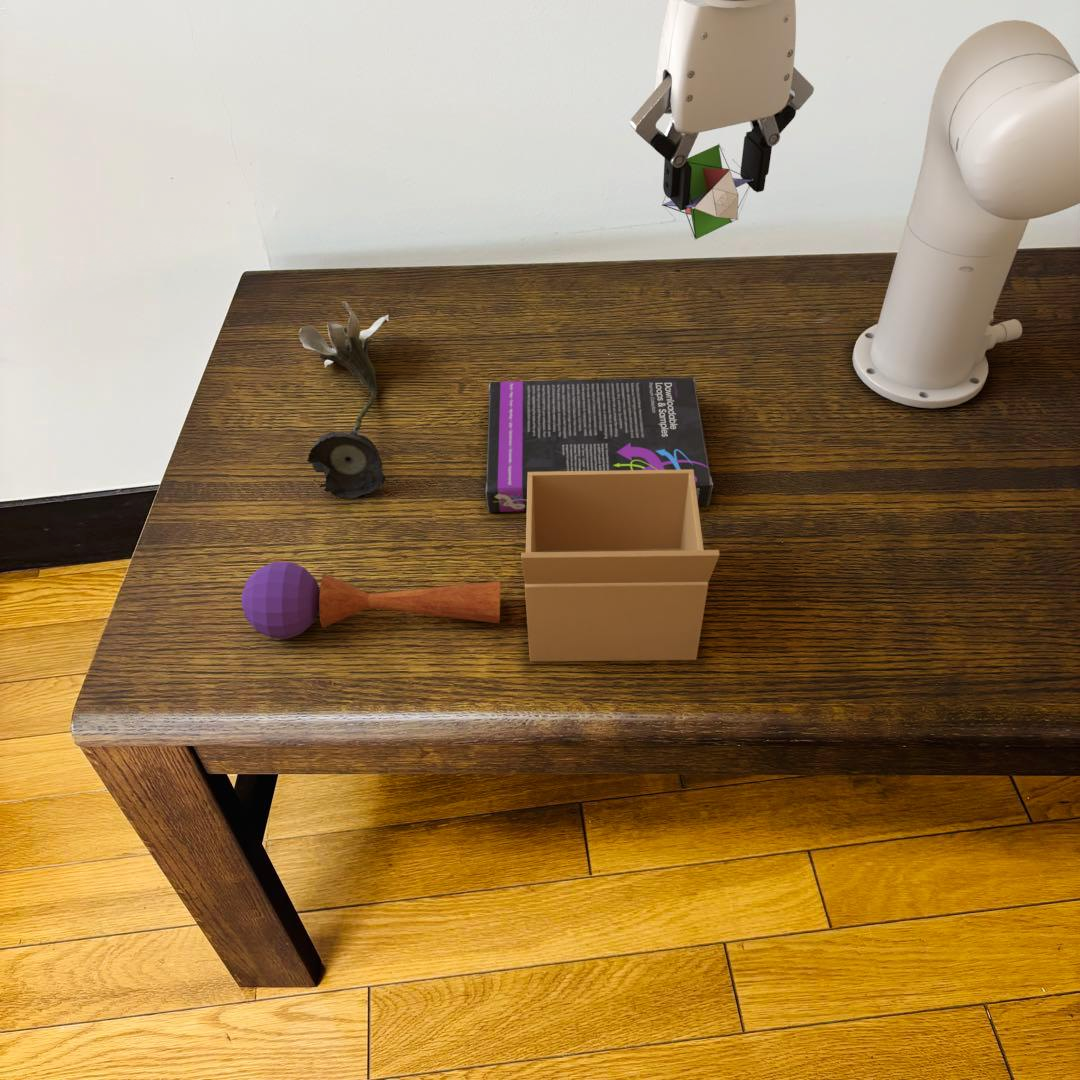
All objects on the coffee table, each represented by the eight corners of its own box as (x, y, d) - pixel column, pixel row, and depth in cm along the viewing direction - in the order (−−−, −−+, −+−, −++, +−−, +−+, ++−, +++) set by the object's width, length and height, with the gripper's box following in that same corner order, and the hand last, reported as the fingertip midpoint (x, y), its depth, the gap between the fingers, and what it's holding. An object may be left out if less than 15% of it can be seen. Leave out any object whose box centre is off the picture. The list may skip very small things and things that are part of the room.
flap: (719, 549, 64) (719, 555, 64) (708, 576, 69) (708, 582, 69) (521, 552, 64) (521, 558, 64) (525, 578, 69) (525, 584, 69)
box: (487, 517, 87) (711, 509, 87) (483, 490, 85) (714, 482, 84) (492, 408, 96) (695, 400, 96) (488, 380, 94) (697, 372, 93)
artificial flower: (303, 512, 90) (249, 425, 83) (346, 373, 106) (304, 291, 100) (395, 491, 88) (347, 400, 81) (424, 352, 104) (386, 268, 98)
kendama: (500, 620, 75) (229, 617, 74) (498, 652, 80) (245, 650, 79) (500, 550, 78) (240, 547, 77) (499, 585, 83) (255, 583, 82)
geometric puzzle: (636, 192, 88) (676, 144, 80) (694, 165, 90) (739, 117, 83) (676, 263, 88) (720, 222, 81) (733, 234, 90) (781, 192, 83)
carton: (684, 547, 84) (693, 469, 77) (696, 660, 77) (708, 585, 69) (532, 549, 84) (527, 471, 77) (530, 661, 77) (524, 587, 70)
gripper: (817, -71, 76) (783, 152, 90) (605, -31, 73) (604, 193, 86) (870, -37, 71) (826, 193, 85) (646, 7, 68) (638, 238, 82)
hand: (714, 191), depth 86 cm, fingers closed on geometric puzzle, 6 cm apart
